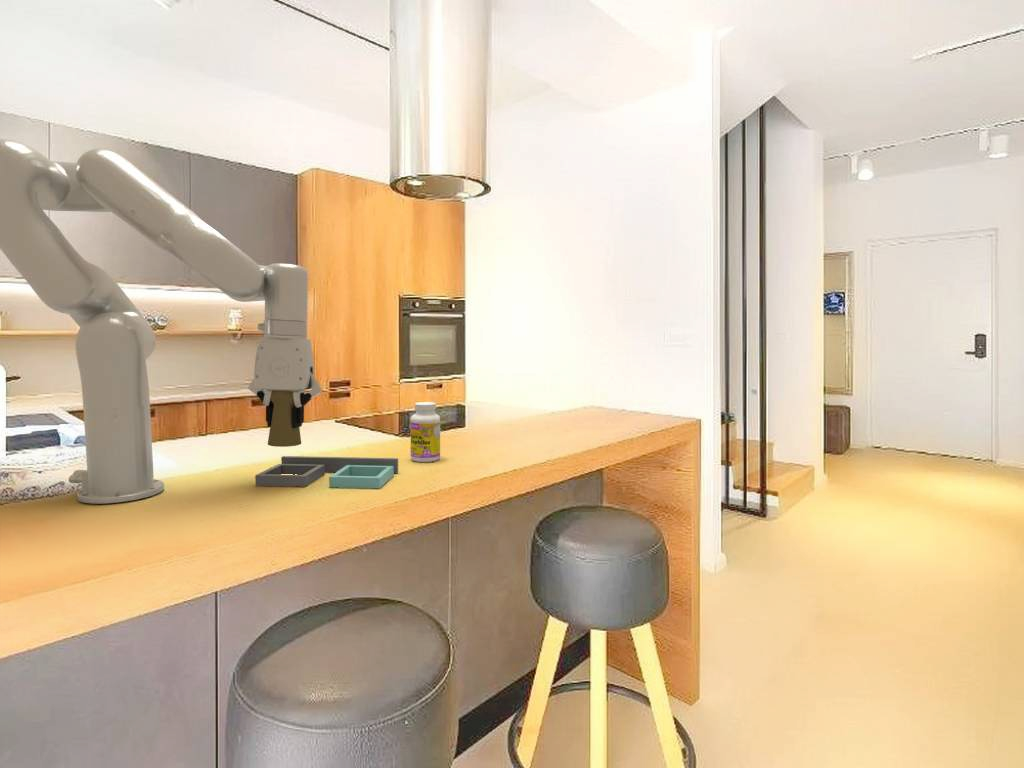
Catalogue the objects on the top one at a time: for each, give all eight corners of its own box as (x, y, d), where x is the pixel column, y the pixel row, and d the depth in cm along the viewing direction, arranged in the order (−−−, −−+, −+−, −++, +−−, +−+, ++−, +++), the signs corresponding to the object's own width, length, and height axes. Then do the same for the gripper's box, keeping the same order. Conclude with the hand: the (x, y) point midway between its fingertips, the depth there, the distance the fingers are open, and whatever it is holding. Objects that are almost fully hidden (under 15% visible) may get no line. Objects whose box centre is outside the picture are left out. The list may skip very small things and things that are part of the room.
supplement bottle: (404, 461, 128) (404, 404, 127) (420, 455, 134) (420, 400, 133) (431, 464, 126) (430, 405, 125) (445, 458, 132) (445, 402, 131)
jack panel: (254, 485, 107) (253, 470, 107) (283, 470, 119) (283, 456, 119) (381, 488, 106) (381, 472, 105) (398, 472, 118) (398, 458, 118)
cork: (289, 447, 107) (290, 388, 106) (260, 445, 108) (261, 386, 107) (307, 442, 113) (308, 386, 112) (279, 440, 114) (280, 384, 113)
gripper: (232, 328, 106) (231, 427, 107) (321, 332, 105) (320, 431, 106) (253, 329, 113) (252, 421, 114) (336, 332, 112) (334, 426, 113)
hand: (284, 425), depth 110 cm, fingers closed on cork, 4 cm apart
